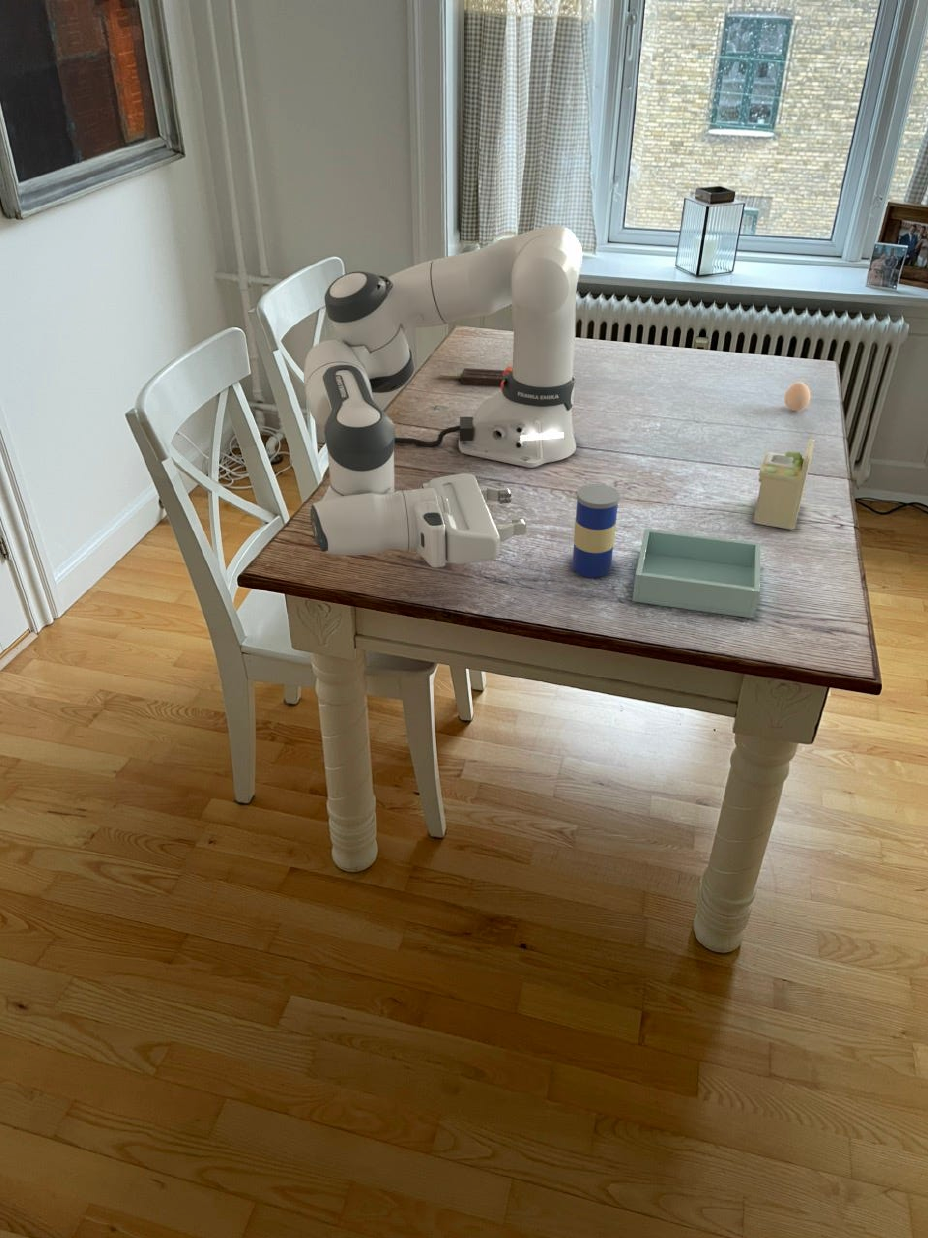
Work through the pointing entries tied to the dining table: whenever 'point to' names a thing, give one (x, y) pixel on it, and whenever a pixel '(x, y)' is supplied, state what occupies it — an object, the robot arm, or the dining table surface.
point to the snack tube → (594, 530)
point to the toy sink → (782, 487)
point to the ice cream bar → (478, 376)
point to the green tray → (698, 573)
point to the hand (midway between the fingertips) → (517, 510)
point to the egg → (797, 396)
